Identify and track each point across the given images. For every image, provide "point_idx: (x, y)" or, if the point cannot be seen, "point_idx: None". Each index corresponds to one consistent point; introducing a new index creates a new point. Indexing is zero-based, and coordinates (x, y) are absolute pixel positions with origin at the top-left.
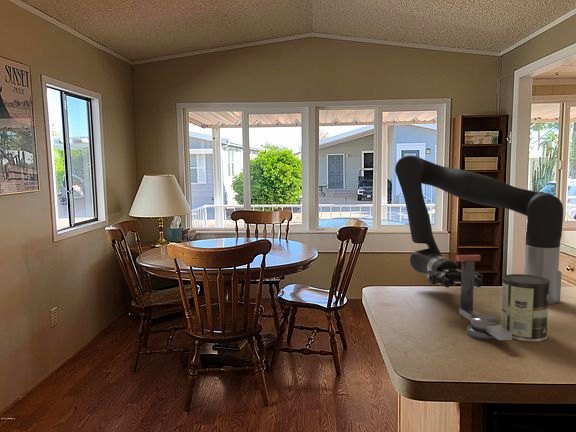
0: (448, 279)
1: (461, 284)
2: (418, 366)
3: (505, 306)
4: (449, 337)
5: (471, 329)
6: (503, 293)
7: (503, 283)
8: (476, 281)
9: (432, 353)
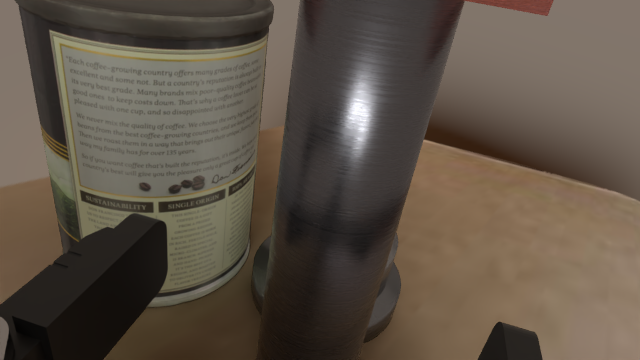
0: (507, 335)
1: (388, 253)
2: (626, 225)
3: (255, 149)
4: (486, 319)
5: (388, 281)
6: (248, 103)
7: (247, 49)
8: (134, 273)
9: (581, 255)
